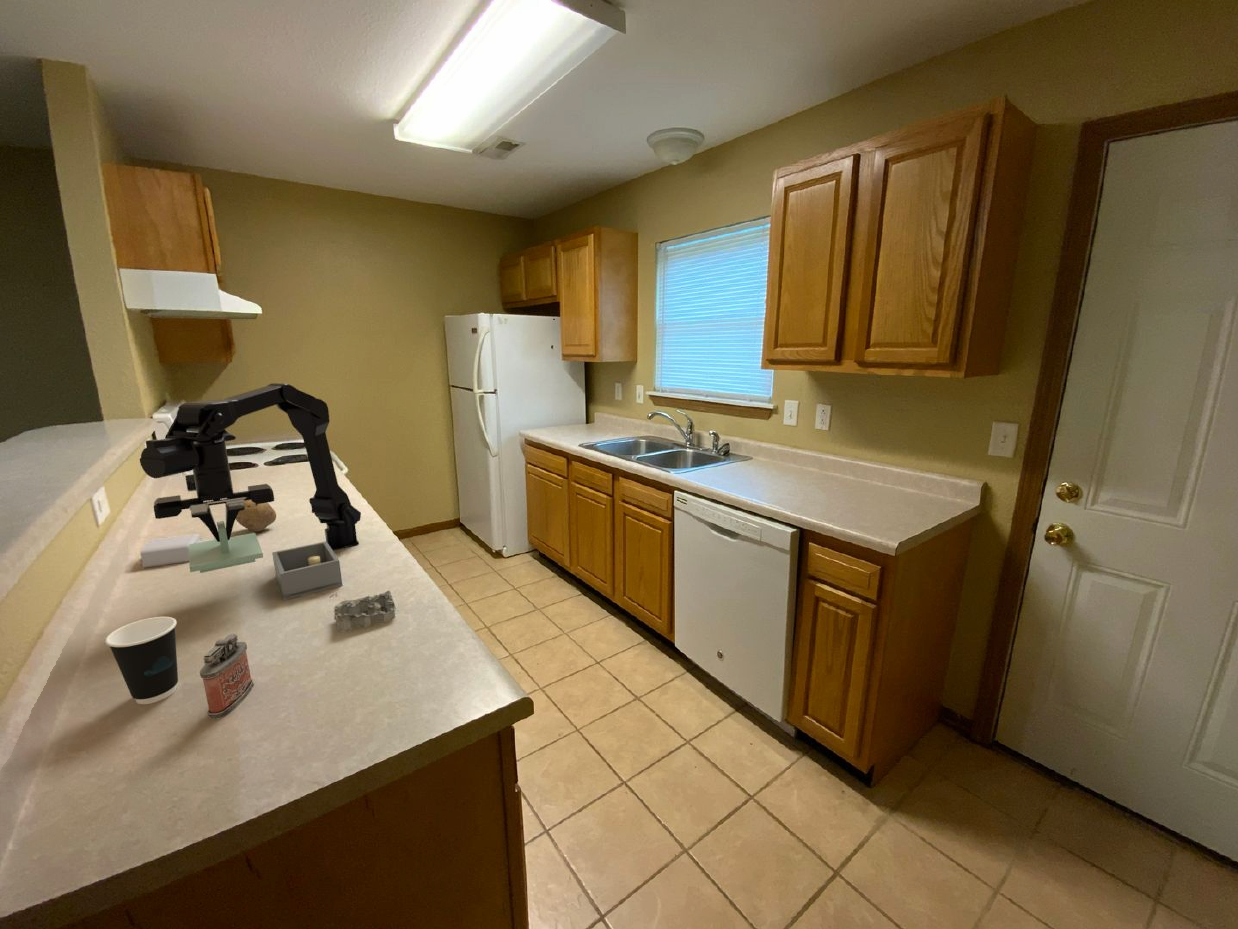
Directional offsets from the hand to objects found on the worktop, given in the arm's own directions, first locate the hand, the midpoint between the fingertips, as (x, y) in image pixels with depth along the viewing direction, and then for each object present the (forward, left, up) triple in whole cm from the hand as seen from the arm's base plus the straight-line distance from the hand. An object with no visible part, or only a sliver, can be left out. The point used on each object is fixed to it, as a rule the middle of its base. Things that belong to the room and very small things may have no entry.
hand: (223, 540), depth 106 cm
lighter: (+2, +38, -14) cm, 40 cm away
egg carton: (-20, +25, -14) cm, 35 cm away
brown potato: (-8, -44, -14) cm, 47 cm away
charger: (+7, -34, -14) cm, 37 cm away
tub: (-14, 0, -13) cm, 19 cm away
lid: (0, 0, -4) cm, 4 cm away
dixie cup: (+11, +29, -14) cm, 34 cm away
